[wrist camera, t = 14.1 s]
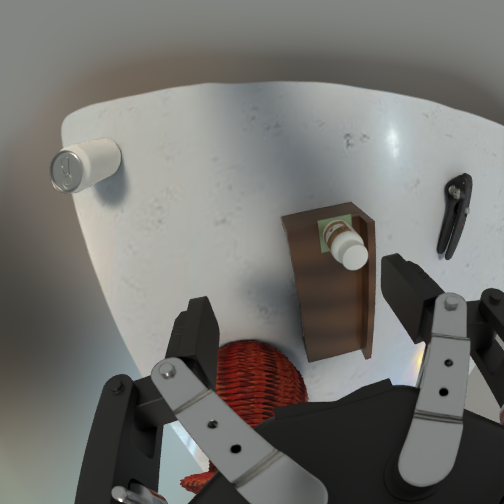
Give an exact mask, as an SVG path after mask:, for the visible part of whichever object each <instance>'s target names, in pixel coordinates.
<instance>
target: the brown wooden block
mask: <svg viewBox="0 0 504 504" xmlns="http://www.w3.org/2000/svg"><path fill="white" fill-rule="evenodd" d="M281 220H282V225H283V228H284V230H285V233H286V236H287V238H288V244H289V249H290V255H291V260H292V266H293V271H294V277H295V283H296V289H297V295H298V301H299V307H300V313H301V319H302V325H303V332H304V336H303V337H302V338H303V343H304V347H305V351H306V355H307V359H308V362H309V363H310V362H314V361H318V360H322V359H326V358H330V357H334V356H338V355H342V354H345V353H349V352H352V351H356V350H359V349H361V351H362V353H363V355H364V357H365V360H366V359H369V358H371V354H372V343H373V331H374V315H375V290H376V243H375V221H374V220H373V219H371V218H370V217H369V216H368V215H367V214H365V213H364V212H363V211H362V210H361V209H359V208H358V207H357V206H356V205H354V204H353V203H352V202H349V203H344V204H339V205H334V206H329V207H324V208H319V209H314V210H310V211H305V212H300V213H295V214H291V215H286V216H281ZM334 220H343V221H345V222H347V223H348V224H349V225H350V226H351V227H352V228H353V229H354V230H355V232H356V233H357V234H358V235H359V236H360V237H361V238H362V240H363V243H364V246H365V248H366V249H367V251H368V259H367V261H366V263H365V264H364V265H363V266H362V267H361V268H359V269H357V270H349V269H347V268H346V267H345V266H344V265H343V264H342V263H340V262H338V261H337V260H336V259H335V258H334V257H333V255H332V253H331V252H330V250H329V249H328V247H327V246H326V244H325V242H324V240H323V231H324V229H325V227H326V226H327V225H328V224H329V223H330V222H332V221H334Z"/></svg>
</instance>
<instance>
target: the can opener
mask: <svg viewBox="0 0 504 504" xmlns="http://www.w3.org/2000/svg"><path fill="white" fill-rule="evenodd" d="M446 192H447V196H448V198H449V212H448V216H447V219H446V222H445V225H444V228H443V231H442V234H441V238H440V242H439V246H438V253H439V254H442V253H443V252H444V251H445V249H446V247H447V244H448V241H449V239H450V242H449V245H448V248H447V251H446V254H445V259H446V260H449V259H451V257H452V256H453V253H454V251H455V249H456V247H457V244H458V242H459V239H460V237H461V234H462V231H463V228H464V225H465V221H466V217H467V214H469V204H470V198H471V192H472V177H471V176H470V175H469V174H466V173H463V174H462V175H460V176H457V177H455V178H454V179H453V180H451V181H450V182H449V183H448V185H447V187H446ZM457 211H458V212H457ZM454 223H455V224H454ZM453 226H454V228H453ZM452 230H453V231H452ZM451 233H452V235H451ZM450 236H451V238H450Z"/></svg>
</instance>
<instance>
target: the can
mask: <svg viewBox="0 0 504 504" xmlns="http://www.w3.org/2000/svg"><path fill="white" fill-rule="evenodd" d="M120 162H121V153H120V150H119V148H118V146H117V144H116V143H115V142H113V141H112V140H110V139H98V140H93V141H88V142H83V143H78V144H74V145H70V146H67V147H65V148H63V149H62V150H61V151H60V152H58V153H57V154H56V155H55V156H54V157H53V159H52V161H51V163H50V167H49V176H50V180H51V182H52V184H53V186H54V187H55V189H57V190H58V191H60V192H61V193H65V194H68V193H77V192H80V191H82V190H84V189H86V188H88V187H90V186H92V185H93V184H95V183H97V182H99V181H101V180H103V179H105V178H107V177H109V176H111V175H113V174H114V173H115V172H116V171H117V169H118V168H119V165H120Z"/></svg>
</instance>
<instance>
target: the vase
mask: <svg viewBox="0 0 504 504" xmlns="http://www.w3.org/2000/svg"><path fill="white" fill-rule="evenodd" d="M306 390H307V389H306V385H305V384H304V381H303V378H302V375H301V374H300V371H298V370H297V369H296V367H295V366H294V365H293V364H292V363H291V361H289V360H288V358H287V357H285V355H284V354H282V353H281V352H280V351H277V350H276V349H275V348H272V347H270V346H269V345H266V344H264V343H258V342H255V341H253V340H251V341H239V342H234V343H229V344H227V345H225V346H224V347H222V348H220V349H219V350H218V364H217V379H216V392H215V393H216V394H217V395H218V396H219V397H220V398H221V399H222V400H223V401H224V402H225V403H226V404H227V405H228V406H229V407H230V408H231V409H232V410H233V411H234V412H235V413H236V414H237V415H238V416H239V417H240V418H241V419H243V420H244V421H245V422H246V423H247V424H248V425H249V426H250V427H251V428H252V429H253V428H254V427H256V426H257V425H258V424H260V423H261V422H263V421H265V420H267V419H269V418H271V417H273V416H275V413H274V408H276V407H282V406H287V405H292V404H297V403H302V402H307V401H308V399H309V398H308V394H307V391H306ZM209 462H210V464H209V468H208V469H209V471H208V472H204V473H201V474H194V475H190V476H188V477H185V478H184V479H183V480H180V481H181V483H180V485H182V487H184V488H186V490H187V491H191V492H193V493H195V494H197V493H198V492H199V491H200V490H201V489H202V488H203V487H204V486H205V485H206V483H207V482H208V481H209V480H210V479H211V478H212V477H213V475H214V474H215V473H216V472H217V471H218V468H217V467H216V466H215V465H214V464H213V463H212V462H211V460H210V459H209Z"/></svg>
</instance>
